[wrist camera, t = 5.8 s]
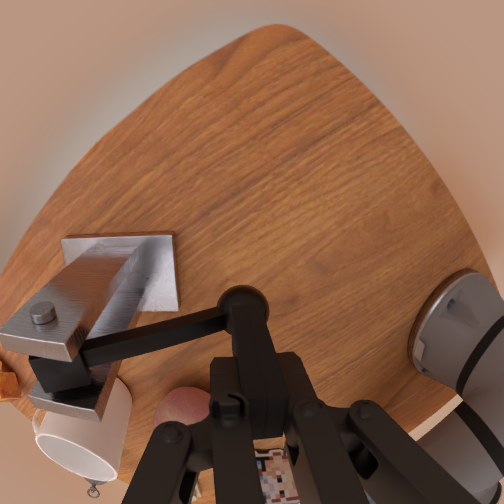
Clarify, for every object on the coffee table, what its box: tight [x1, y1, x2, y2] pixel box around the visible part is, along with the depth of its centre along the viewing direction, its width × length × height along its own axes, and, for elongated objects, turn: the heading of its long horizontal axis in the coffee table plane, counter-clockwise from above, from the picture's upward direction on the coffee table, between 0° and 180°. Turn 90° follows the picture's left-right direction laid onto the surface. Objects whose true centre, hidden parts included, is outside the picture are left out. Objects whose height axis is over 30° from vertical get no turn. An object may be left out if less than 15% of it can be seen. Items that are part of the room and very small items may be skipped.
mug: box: [32, 377, 132, 481], centre depth 21 cm, size 9×12×11 cm
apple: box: [154, 387, 211, 429], centre depth 24 cm, size 8×8×8 cm
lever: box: [29, 285, 269, 394], centre depth 14 cm, size 14×3×3 cm, turn 89°
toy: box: [255, 449, 300, 504], centre depth 28 cm, size 14×2×10 cm, turn 79°
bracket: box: [0, 231, 180, 422], centre depth 15 cm, size 10×7×14 cm, turn 89°
